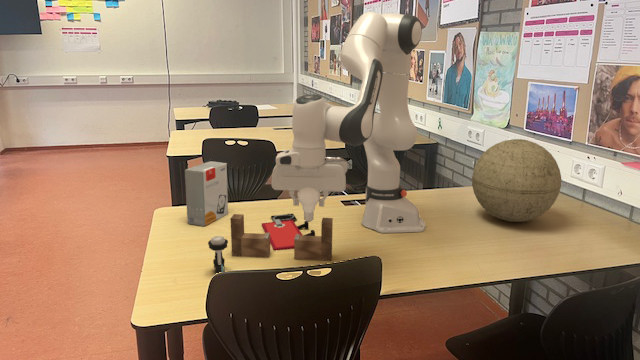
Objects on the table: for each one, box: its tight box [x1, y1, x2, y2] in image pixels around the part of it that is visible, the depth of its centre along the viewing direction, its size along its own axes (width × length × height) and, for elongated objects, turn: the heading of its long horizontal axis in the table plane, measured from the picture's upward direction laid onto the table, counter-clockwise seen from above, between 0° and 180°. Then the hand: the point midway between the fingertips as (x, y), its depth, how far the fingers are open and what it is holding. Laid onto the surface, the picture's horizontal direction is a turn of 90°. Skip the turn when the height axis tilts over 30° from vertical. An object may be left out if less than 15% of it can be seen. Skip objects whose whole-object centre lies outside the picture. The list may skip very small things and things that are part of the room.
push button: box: [207, 235, 229, 274], centre depth 135 cm, size 7×5×10 cm
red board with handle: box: [261, 213, 316, 252], centre depth 165 cm, size 30×3×15 cm
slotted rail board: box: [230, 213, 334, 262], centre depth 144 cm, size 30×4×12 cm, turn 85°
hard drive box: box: [184, 160, 229, 227], centre depth 174 cm, size 16×8×20 cm, turn 158°
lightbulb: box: [296, 187, 321, 223], centre depth 133 cm, size 6×6×11 cm
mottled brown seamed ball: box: [471, 138, 562, 223], centre depth 175 cm, size 30×30×30 cm
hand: (308, 205), depth 133 cm, fingers closed on lightbulb, 6 cm apart
